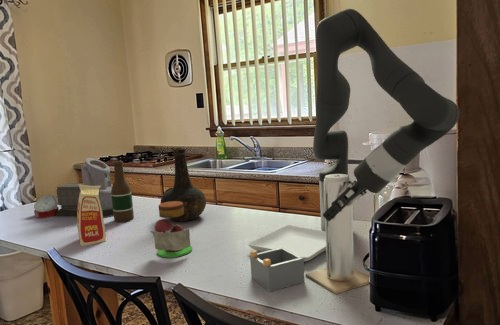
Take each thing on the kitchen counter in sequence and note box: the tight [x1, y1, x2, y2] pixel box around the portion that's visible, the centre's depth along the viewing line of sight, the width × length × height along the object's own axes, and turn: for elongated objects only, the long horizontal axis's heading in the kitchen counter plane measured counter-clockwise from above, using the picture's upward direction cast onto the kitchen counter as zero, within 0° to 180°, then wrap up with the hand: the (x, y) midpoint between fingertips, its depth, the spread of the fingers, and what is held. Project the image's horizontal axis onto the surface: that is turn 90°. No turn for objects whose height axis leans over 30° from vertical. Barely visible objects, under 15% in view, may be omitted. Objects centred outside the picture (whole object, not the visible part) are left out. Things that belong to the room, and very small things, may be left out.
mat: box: [305, 267, 370, 295], centre depth 103 cm, size 12×12×1 cm
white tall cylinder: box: [324, 174, 355, 281], centre depth 101 cm, size 6×6×25 cm
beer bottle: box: [111, 160, 135, 223], centre depth 169 cm, size 8×8×24 cm
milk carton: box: [76, 185, 107, 247], centre depth 145 cm, size 9×9×20 cm
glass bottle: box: [160, 147, 207, 222], centre depth 165 cm, size 18×18×28 cm
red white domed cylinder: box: [33, 194, 60, 219], centre depth 187 cm, size 11×10×10 cm
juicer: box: [54, 157, 114, 219], centre depth 184 cm, size 30×16×24 cm, turn 75°
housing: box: [249, 247, 305, 293], centre depth 104 cm, size 10×10×7 cm
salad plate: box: [247, 224, 326, 262], centre depth 126 cm, size 21×21×3 cm
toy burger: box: [149, 201, 193, 258], centre depth 129 cm, size 12×13×15 cm
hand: (332, 213), depth 102 cm, fingers open, 8 cm apart
